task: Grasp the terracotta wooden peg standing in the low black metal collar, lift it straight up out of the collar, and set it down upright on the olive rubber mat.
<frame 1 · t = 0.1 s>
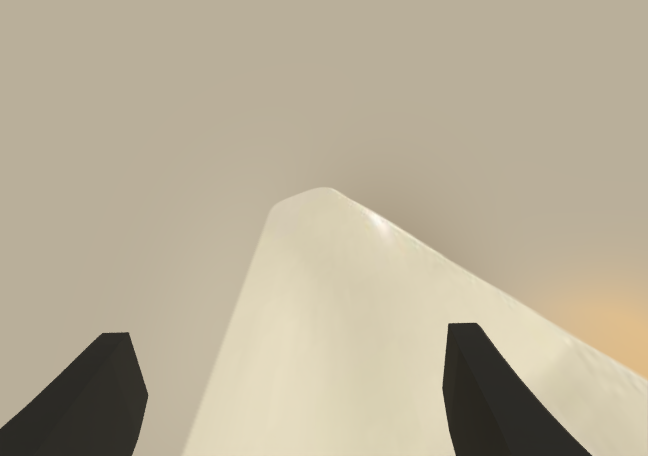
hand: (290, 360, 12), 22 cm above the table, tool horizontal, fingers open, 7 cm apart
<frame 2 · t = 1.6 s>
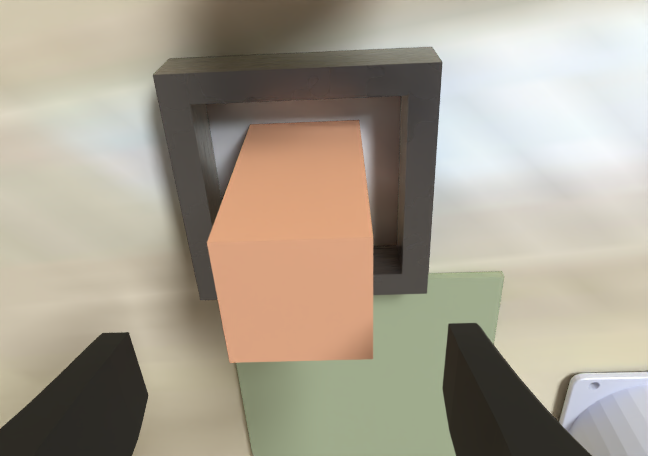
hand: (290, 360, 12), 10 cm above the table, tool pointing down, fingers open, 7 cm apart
peg: (307, 171, 21), resting in metal collar
metal collar: (307, 172, 21), on the table
rubber mat: (362, 374, 26), on the table
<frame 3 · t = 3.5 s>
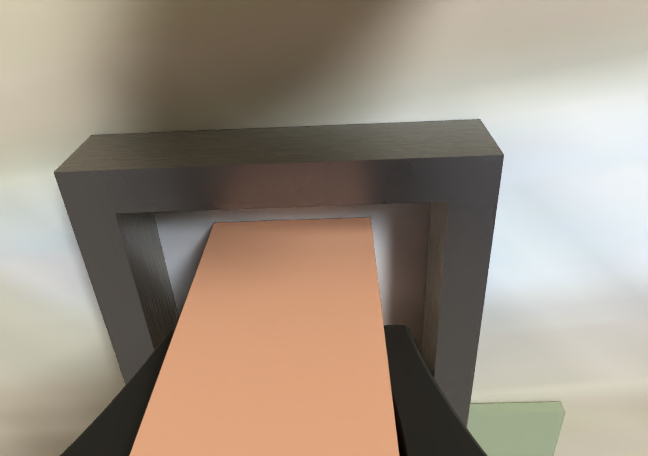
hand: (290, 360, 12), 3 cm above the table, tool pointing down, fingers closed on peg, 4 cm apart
peg: (297, 282, 15), resting in metal collar, touching gripper
metal collar: (297, 283, 15), on the table
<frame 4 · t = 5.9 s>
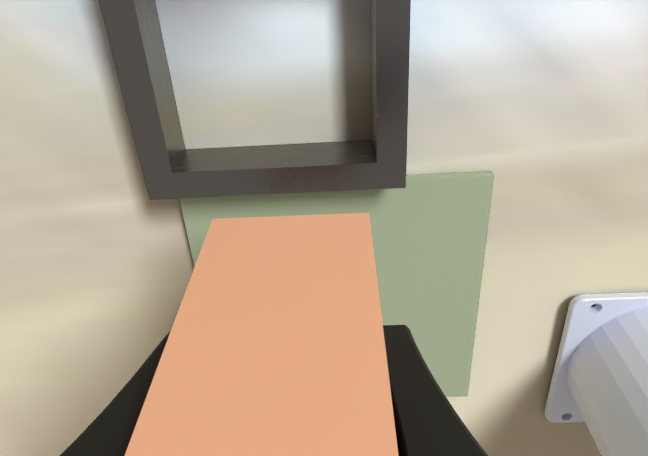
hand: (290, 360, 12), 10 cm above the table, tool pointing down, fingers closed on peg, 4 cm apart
peg: (296, 278, 15), point 7 cm above the table, touching gripper
metal collar: (267, 48, 18), on the table
rubber mat: (340, 300, 24), on the table
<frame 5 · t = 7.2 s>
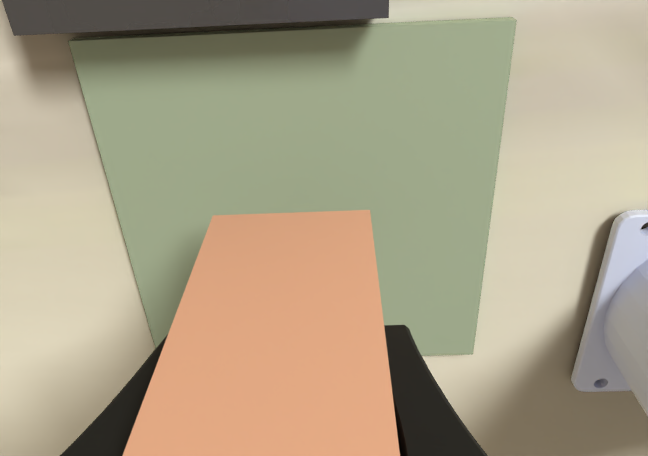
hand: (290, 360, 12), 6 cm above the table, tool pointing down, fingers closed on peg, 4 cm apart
peg: (296, 276, 15), point 4 cm above the table, touching gripper
rubber mat: (304, 217, 18), on the table
when the fingers open (5 cm above the table, at t = 8.4 s): peg drops 2 cm, resting on rubber mat.
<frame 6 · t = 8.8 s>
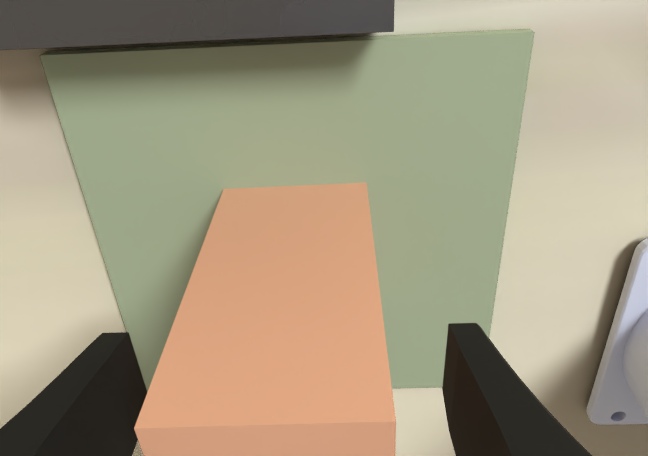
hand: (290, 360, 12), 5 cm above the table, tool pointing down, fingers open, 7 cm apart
peg: (300, 245, 16), resting on rubber mat
rubber mat: (301, 243, 16), on the table
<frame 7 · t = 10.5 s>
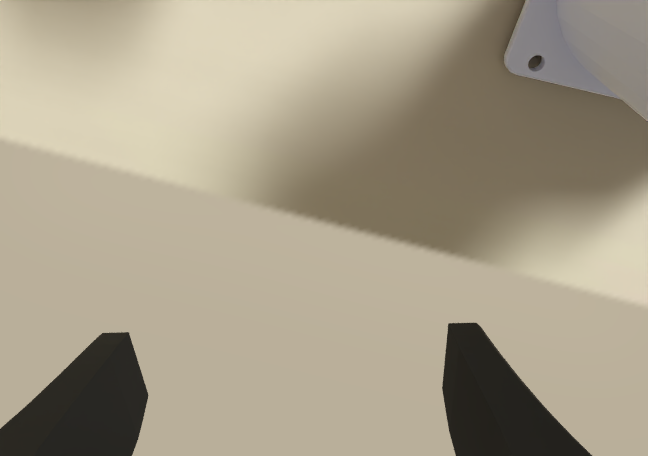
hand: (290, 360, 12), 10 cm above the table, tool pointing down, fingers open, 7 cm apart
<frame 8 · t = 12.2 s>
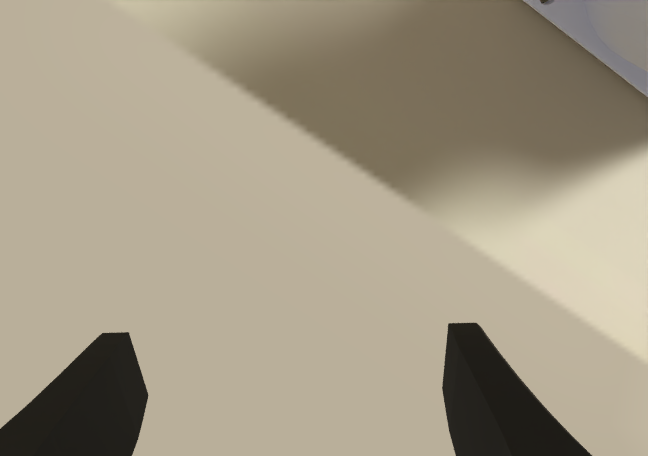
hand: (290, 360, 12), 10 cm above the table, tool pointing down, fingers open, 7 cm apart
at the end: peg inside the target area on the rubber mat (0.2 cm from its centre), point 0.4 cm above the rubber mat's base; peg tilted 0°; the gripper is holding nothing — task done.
